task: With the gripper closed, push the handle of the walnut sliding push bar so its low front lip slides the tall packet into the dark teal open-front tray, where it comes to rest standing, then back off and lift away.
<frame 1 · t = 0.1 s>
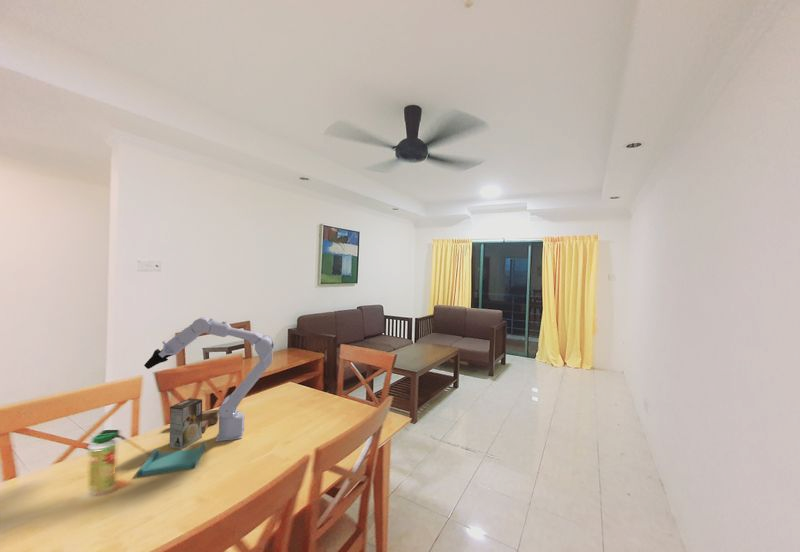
hand: (150, 364, 120), 32 cm above the table, tool tilted 50°, fingers open, 7 cm apart
push bar: (194, 422, 134), point 3 cm above the table, slide at 0.0 cm
coffee box: (185, 442, 123), on the table
tray: (174, 459, 111), on the table
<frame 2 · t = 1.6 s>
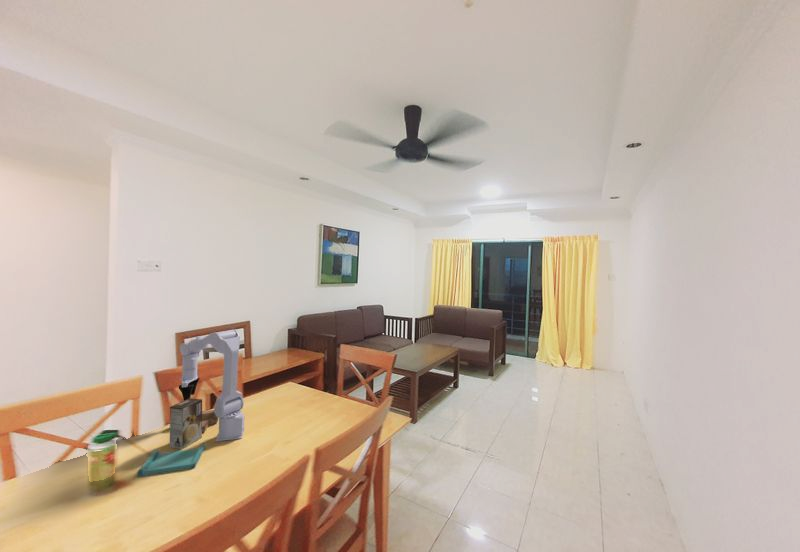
hand: (189, 397, 141), 10 cm above the table, tool pointing down, fingers open, 6 cm apart
nothing on the table moved.
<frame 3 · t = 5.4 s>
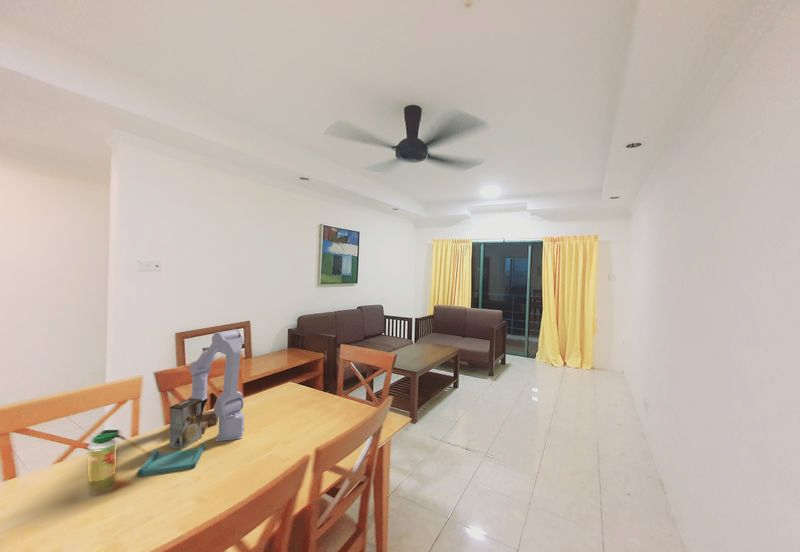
hand: (198, 417, 139), 2 cm above the table, tool pointing down, fingers closed
push bar: (194, 423, 133), point 3 cm above the table, slide at 0.8 cm, touching gripper
everything else where it was.
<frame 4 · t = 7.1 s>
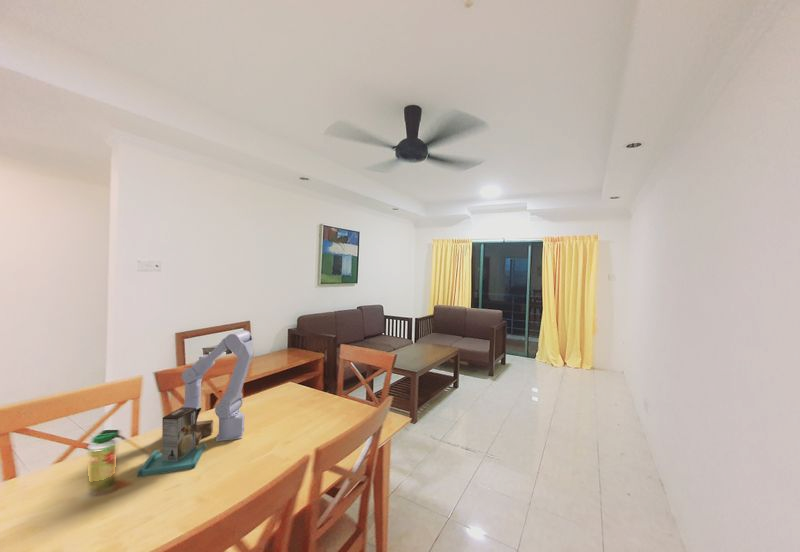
hand: (192, 427, 130), 2 cm above the table, tool pointing down, fingers closed
push bar: (187, 434, 124), point 3 cm above the table, slide at 10.4 cm, touching gripper
coffee box: (179, 455, 114), resting in tray
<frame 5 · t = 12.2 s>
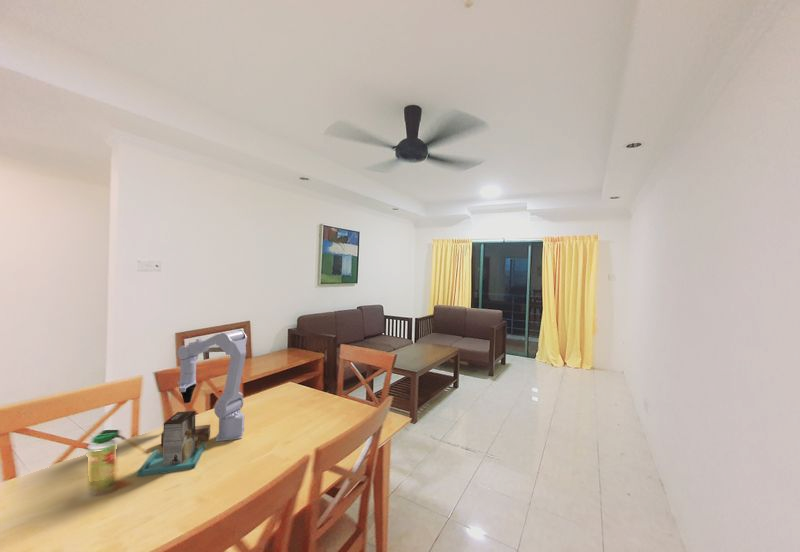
hand: (187, 402, 136), 10 cm above the table, tool pointing down, fingers closed
push bar: (183, 439, 120), point 3 cm above the table, slide at 14.4 cm
coffee box: (179, 460, 111), resting in tray
at the end: coffee box inside the target area on the tray (2.1 cm from its centre), point 0.0 cm above the tray's base; coffee box tilted 0°; coffee box moved 12.9 cm from its start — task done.
